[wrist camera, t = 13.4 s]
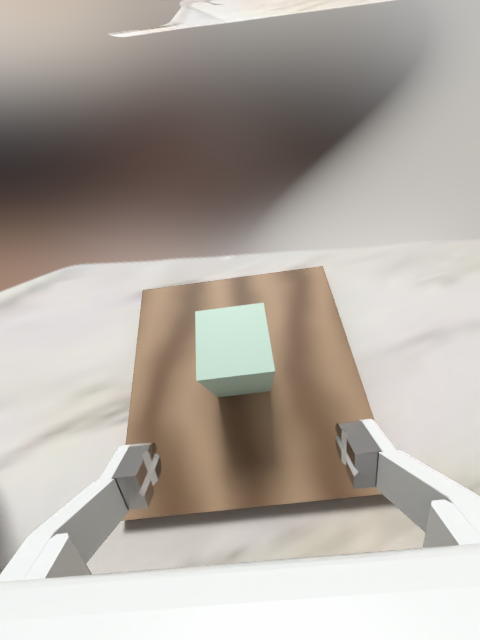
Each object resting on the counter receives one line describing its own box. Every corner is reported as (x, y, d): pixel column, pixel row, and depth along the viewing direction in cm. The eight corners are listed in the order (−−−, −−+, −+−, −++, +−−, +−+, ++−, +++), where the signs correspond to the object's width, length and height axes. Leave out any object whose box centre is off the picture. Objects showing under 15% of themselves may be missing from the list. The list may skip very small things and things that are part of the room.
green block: (262, 341, 23) (263, 302, 16) (270, 391, 21) (275, 371, 14) (215, 347, 24) (195, 311, 16) (217, 397, 21) (196, 380, 14)
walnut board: (320, 272, 28) (322, 266, 27) (390, 488, 18) (398, 492, 17) (147, 295, 29) (142, 290, 28) (125, 515, 19) (117, 521, 18)
